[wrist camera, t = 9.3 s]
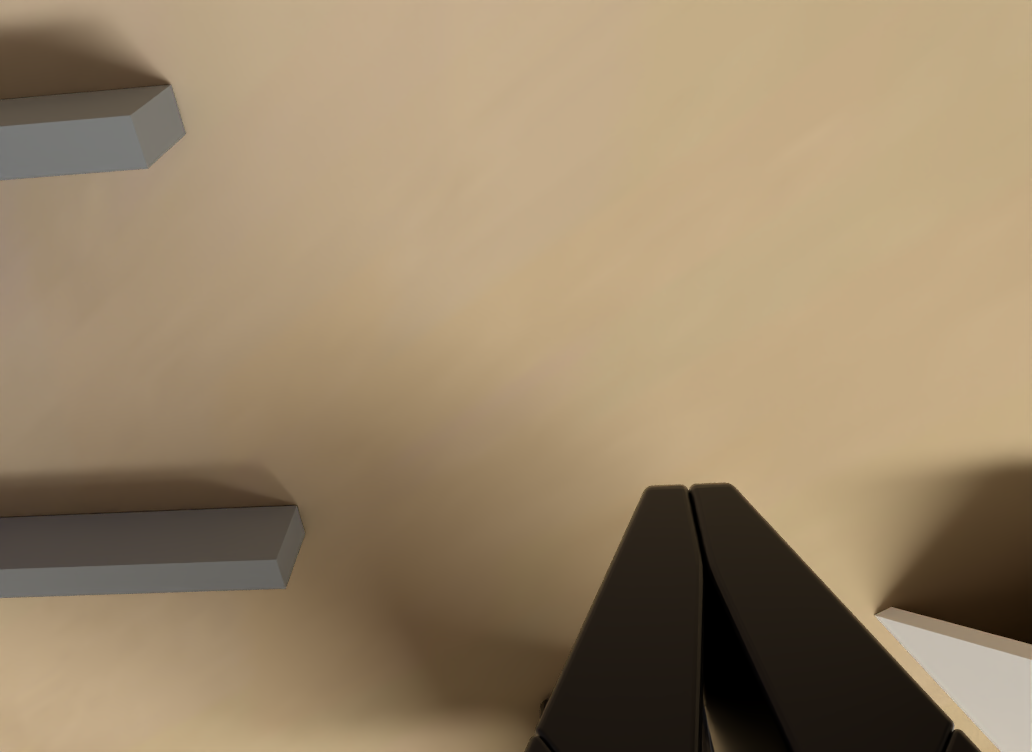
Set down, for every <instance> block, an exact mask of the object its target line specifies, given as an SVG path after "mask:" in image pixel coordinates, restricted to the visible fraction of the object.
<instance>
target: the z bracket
mask: <svg viewBox="0 0 1032 752" xmlns="http://www.w3.org/2000/svg"><path fill="white" fill-rule="evenodd" d="M874 616H875V617H876V618H877V619H878V620H879V621H880V622H881V623H882V624H883V625H884V626H885V627H886V629H887V630H888V631H889V632H890V633H891V634H892V635H893V636H894V637H895V638H896V639H897V640H898V641H899V643H900V644H901V645H902V646H903V647H904V648H905V649H906V650H907V651H908V652H909V653H910V654H911V655H912V657H913V658H914V659H915V660H916V661H917V662H918V663H919V664H920V665H921V666H922V667H923V668H924V669H925V671H926V672H927V673H928V674H929V675H930V676H931V677H932V678H933V679H934V680H935V681H936V682H937V684H938V685H939V686H940V687H941V688H942V689H943V690H944V691H945V692H946V693H947V694H948V695H949V696H950V698H951V699H952V700H953V701H954V702H955V703H956V704H957V705H958V706H959V707H960V708H961V709H962V710H963V712H964V713H965V714H966V715H967V716H968V717H969V718H970V719H971V720H972V721H973V722H974V723H975V724H976V726H977V727H978V728H979V729H980V730H981V731H982V732H983V733H984V734H985V735H986V736H987V737H988V738H989V740H990V741H991V742H992V743H993V744H994V745H995V746H996V747H997V748H998V749H999V750H1000V751H1001V752H1032V645H1031V644H1028V643H1024V642H1020V641H1017V640H1013V639H1009V638H1005V637H1002V636H998V635H994V634H990V633H987V632H983V631H979V630H976V629H972V628H968V627H964V626H961V625H957V624H953V623H950V622H946V621H942V620H938V619H935V618H931V617H927V616H923V615H920V614H916V613H912V612H909V611H905V610H901V609H897V608H894V607H890V608H888V609H886V610H884V611H882V612H879V613H877V614H875V615H874Z"/></svg>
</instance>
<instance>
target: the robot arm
mask: <svg viewBox="0 0 1032 752" xmlns="http://www.w3.org/2000/svg"><path fill="white" fill-rule="evenodd" d="M525 752H981V751H980V750H979V749H978V748H977V747H976V745H975V744H974V743H973V742H972V741H971V740H970V739H969V738H968V737H967V736H966V735H965V733H964V732H963V731H961V730H959V729H955V730H954V723H953V721H952V720H951V719H950V718H949V717H948V716H947V715H946V714H945V712H944V711H943V710H942V709H941V708H940V707H939V706H938V705H937V704H936V703H935V702H934V701H933V700H932V698H931V697H930V696H929V695H928V694H927V693H926V692H925V691H924V690H923V689H922V688H921V687H920V686H919V685H918V683H917V682H916V681H915V680H914V679H913V678H912V677H911V676H910V675H909V674H908V673H907V672H906V671H905V669H904V668H903V667H902V666H901V665H900V664H899V663H898V662H897V661H896V660H895V659H894V658H893V657H892V655H891V654H890V653H889V652H888V651H887V650H886V649H885V648H884V647H883V646H882V645H881V644H880V643H879V642H878V640H877V639H876V638H875V637H874V636H873V635H872V634H871V633H870V632H869V631H868V630H867V629H866V628H865V626H864V625H863V624H862V623H861V622H860V621H859V620H858V619H857V618H856V617H855V616H854V615H853V614H852V612H851V611H850V610H849V609H848V608H847V607H846V606H845V605H844V604H843V603H842V602H841V601H840V600H839V599H838V597H837V596H836V595H835V594H834V593H833V592H832V591H831V590H830V589H829V588H828V587H827V586H826V585H825V583H824V582H823V581H822V580H821V579H820V578H819V577H818V576H817V575H816V574H815V573H814V572H813V571H812V569H811V568H810V567H809V566H808V565H807V564H806V563H805V562H804V561H803V560H802V559H801V558H800V557H799V556H798V554H797V553H796V552H795V551H794V550H793V549H792V548H791V547H790V546H789V545H788V544H787V543H786V542H785V540H784V539H783V538H782V537H781V536H780V535H779V534H778V533H777V532H776V531H775V530H774V529H773V528H772V526H771V525H770V524H769V523H768V522H767V521H766V520H765V519H764V518H763V517H762V516H761V515H760V514H759V513H758V511H757V510H756V509H755V508H754V507H753V506H752V505H751V504H750V503H749V502H748V501H747V500H746V499H745V497H744V496H743V495H742V494H741V493H740V492H739V491H738V490H737V489H736V488H735V487H734V486H733V485H731V484H729V483H704V484H693V485H692V486H691V487H690V489H689V491H688V489H687V488H686V486H684V485H655V486H649V487H647V488H646V489H645V490H644V492H643V494H642V496H641V498H640V501H639V503H638V505H637V507H636V509H635V512H634V514H633V516H632V518H631V520H630V522H629V525H628V527H627V529H626V531H625V533H624V536H623V538H622V540H621V542H620V544H619V547H618V549H617V551H616V553H615V555H614V558H613V560H612V562H611V564H610V566H609V569H608V571H607V573H606V575H605V577H604V580H603V582H602V584H601V586H600V588H599V590H598V593H597V595H596V597H595V599H594V601H593V604H592V606H591V608H590V610H589V612H588V615H587V617H586V619H585V621H584V623H583V626H582V628H581V630H580V632H579V634H578V637H577V639H576V641H575V643H574V645H573V647H572V650H571V652H570V654H569V656H568V658H567V661H566V663H565V665H564V667H563V669H562V672H561V674H560V676H559V678H558V680H557V683H556V685H555V687H554V689H553V691H552V694H551V696H550V698H549V699H547V700H545V701H543V702H542V703H541V706H540V720H539V722H538V724H537V726H536V729H535V736H533V737H531V739H530V741H529V743H528V745H527V747H526V749H525Z"/></svg>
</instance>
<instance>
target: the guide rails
mask: <svg viewBox="0 0 1032 752" xmlns="http://www.w3.org/2000/svg"><path fill="white" fill-rule="evenodd" d="M185 134H186V133H185V129H184V126H183V122H182V119H181V116H180V112H179V109H178V106H177V102H176V99H175V96H174V92H173V89H172V86H171V85H161V86H150V87H138V88H127V89H116V90H104V91H93V92H82V93H70V94H59V95H48V96H36V97H25V98H14V99H2V100H0V180H10V179H23V178H35V177H48V176H60V175H73V174H86V173H98V172H111V171H124V170H136V169H148V168H149V167H150V166H151V165H152V164H153V163H155V162H156V161H157V160H158V159H159V158H160V157H161V156H162V155H163V154H164V153H166V152H167V151H168V150H169V149H170V148H171V147H172V146H173V145H174V144H175V143H176V142H178V141H179V140H180V139H181V138H182V137H183V136H184V135H185ZM304 536H305V531H304V528H303V525H302V521H301V518H300V515H299V511H298V508H297V506H274V507H249V508H225V509H201V510H177V511H153V512H128V513H104V514H80V515H56V516H32V517H7V518H0V598H12V597H43V596H74V595H105V594H136V593H167V592H198V591H228V590H259V589H286V586H287V584H288V581H289V578H290V575H291V572H292V570H293V567H294V564H295V561H296V558H297V555H298V553H299V550H300V547H301V544H302V541H303V539H304Z"/></svg>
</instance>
